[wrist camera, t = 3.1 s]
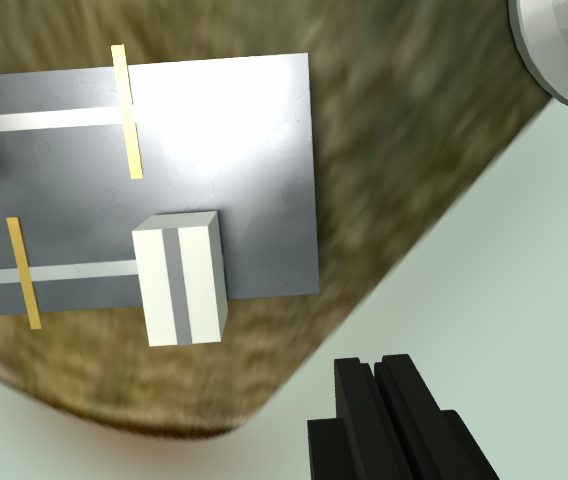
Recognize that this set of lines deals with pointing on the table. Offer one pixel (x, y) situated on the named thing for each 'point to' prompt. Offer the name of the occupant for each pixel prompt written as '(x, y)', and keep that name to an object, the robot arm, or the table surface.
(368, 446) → the robot arm
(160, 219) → the fader
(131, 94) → the console
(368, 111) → the table surface
